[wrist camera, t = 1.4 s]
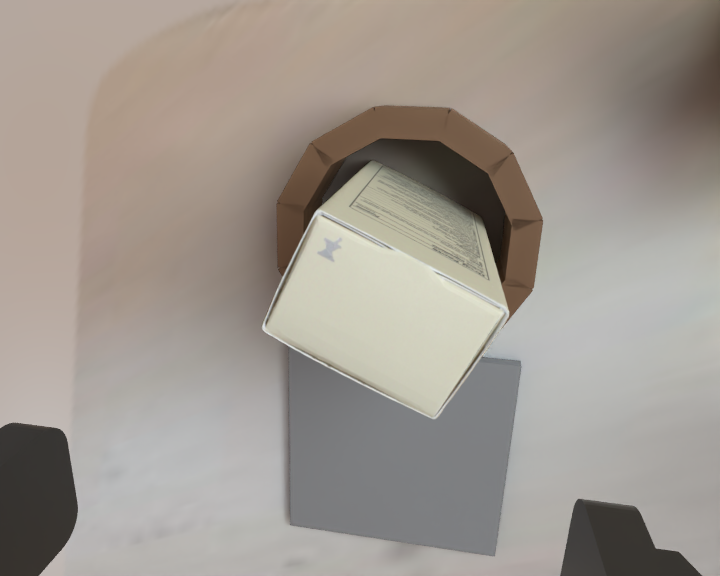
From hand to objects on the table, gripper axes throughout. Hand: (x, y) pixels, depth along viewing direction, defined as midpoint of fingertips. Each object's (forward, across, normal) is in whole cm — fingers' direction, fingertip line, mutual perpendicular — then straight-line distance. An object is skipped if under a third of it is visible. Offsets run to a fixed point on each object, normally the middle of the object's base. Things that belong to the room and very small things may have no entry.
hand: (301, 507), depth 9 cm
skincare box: (+20, 0, 0) cm, 20 cm away
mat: (+20, 0, +12) cm, 24 cm away
